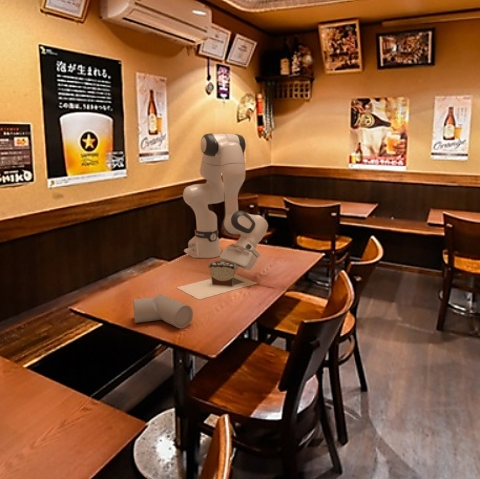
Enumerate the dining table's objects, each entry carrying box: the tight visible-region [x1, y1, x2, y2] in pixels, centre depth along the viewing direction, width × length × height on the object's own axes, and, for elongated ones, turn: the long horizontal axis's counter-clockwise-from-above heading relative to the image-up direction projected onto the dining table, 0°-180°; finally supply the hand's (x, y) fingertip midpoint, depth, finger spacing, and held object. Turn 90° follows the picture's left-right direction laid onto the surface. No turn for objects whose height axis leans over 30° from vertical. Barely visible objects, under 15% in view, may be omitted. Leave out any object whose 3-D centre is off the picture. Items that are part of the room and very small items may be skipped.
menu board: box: [176, 273, 257, 301], centre depth 202 cm, size 18×31×1 cm, turn 129°
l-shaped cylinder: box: [133, 293, 194, 329], centre depth 164 cm, size 18×11×20 cm
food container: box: [208, 259, 237, 287], centre depth 203 cm, size 12×6×10 cm, turn 76°
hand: (228, 272), depth 204 cm, fingers closed
